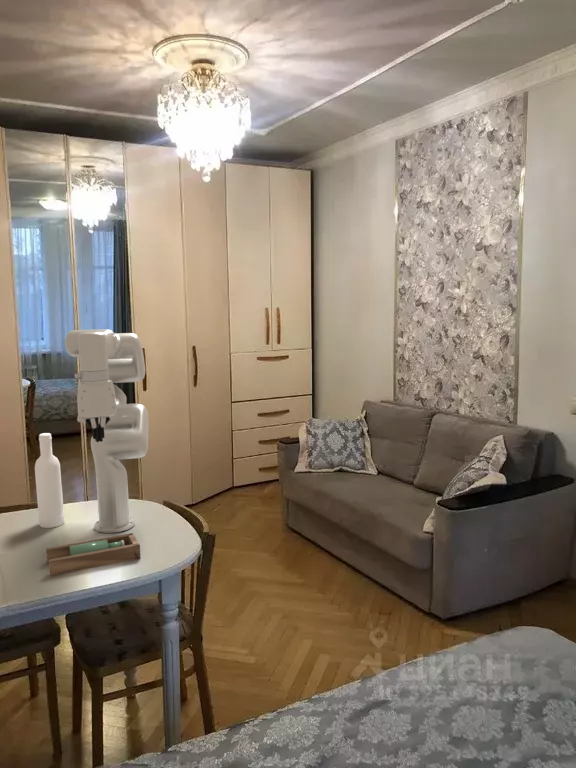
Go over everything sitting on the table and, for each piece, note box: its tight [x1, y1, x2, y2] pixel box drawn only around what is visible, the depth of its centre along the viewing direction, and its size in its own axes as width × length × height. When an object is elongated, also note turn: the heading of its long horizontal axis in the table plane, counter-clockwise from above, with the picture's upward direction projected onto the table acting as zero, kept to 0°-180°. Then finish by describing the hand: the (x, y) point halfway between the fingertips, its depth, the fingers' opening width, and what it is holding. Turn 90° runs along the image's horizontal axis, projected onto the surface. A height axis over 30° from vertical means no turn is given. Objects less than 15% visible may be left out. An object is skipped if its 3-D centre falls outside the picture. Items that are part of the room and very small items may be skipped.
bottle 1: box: [34, 432, 65, 529], centre depth 205 cm, size 8×8×30 cm
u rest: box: [45, 532, 141, 577], centre depth 178 cm, size 10×24×4 cm, turn 115°
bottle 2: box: [69, 540, 125, 556], centre depth 179 cm, size 5×5×15 cm
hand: (98, 440), depth 179 cm, fingers closed
